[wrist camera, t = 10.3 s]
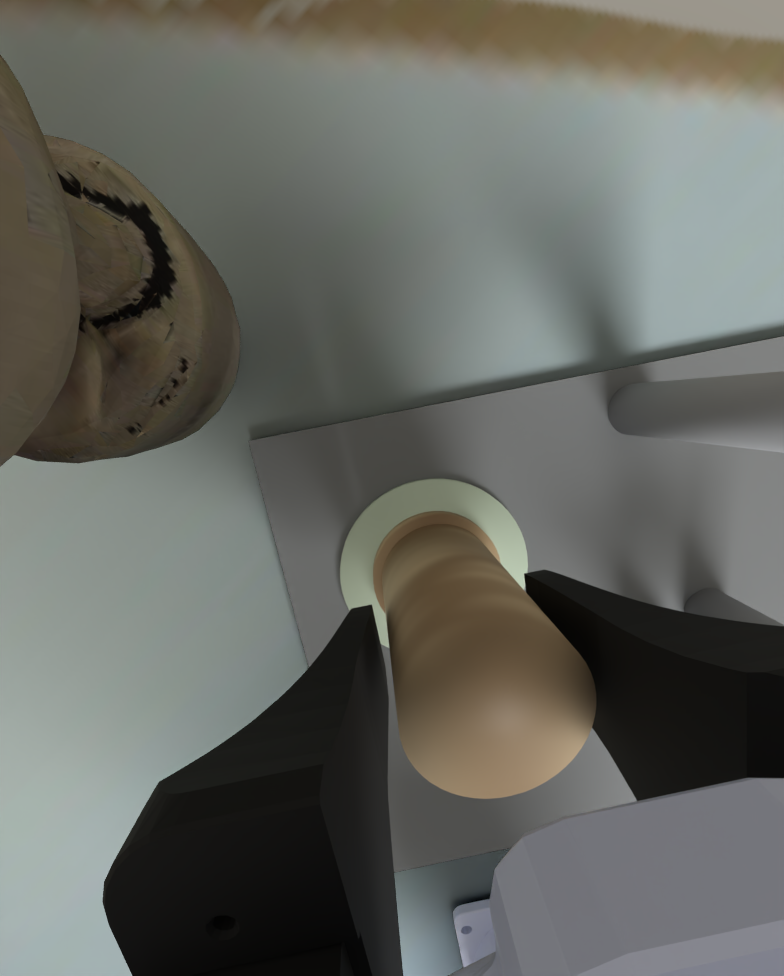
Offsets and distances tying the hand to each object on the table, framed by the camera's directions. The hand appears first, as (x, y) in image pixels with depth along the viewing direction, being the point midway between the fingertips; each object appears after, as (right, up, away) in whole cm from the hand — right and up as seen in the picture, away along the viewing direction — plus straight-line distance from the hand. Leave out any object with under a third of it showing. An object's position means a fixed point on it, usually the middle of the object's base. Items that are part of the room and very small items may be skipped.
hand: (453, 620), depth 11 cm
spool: (0, +1, +3) cm, 3 cm away
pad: (0, +1, +4) cm, 4 cm away
